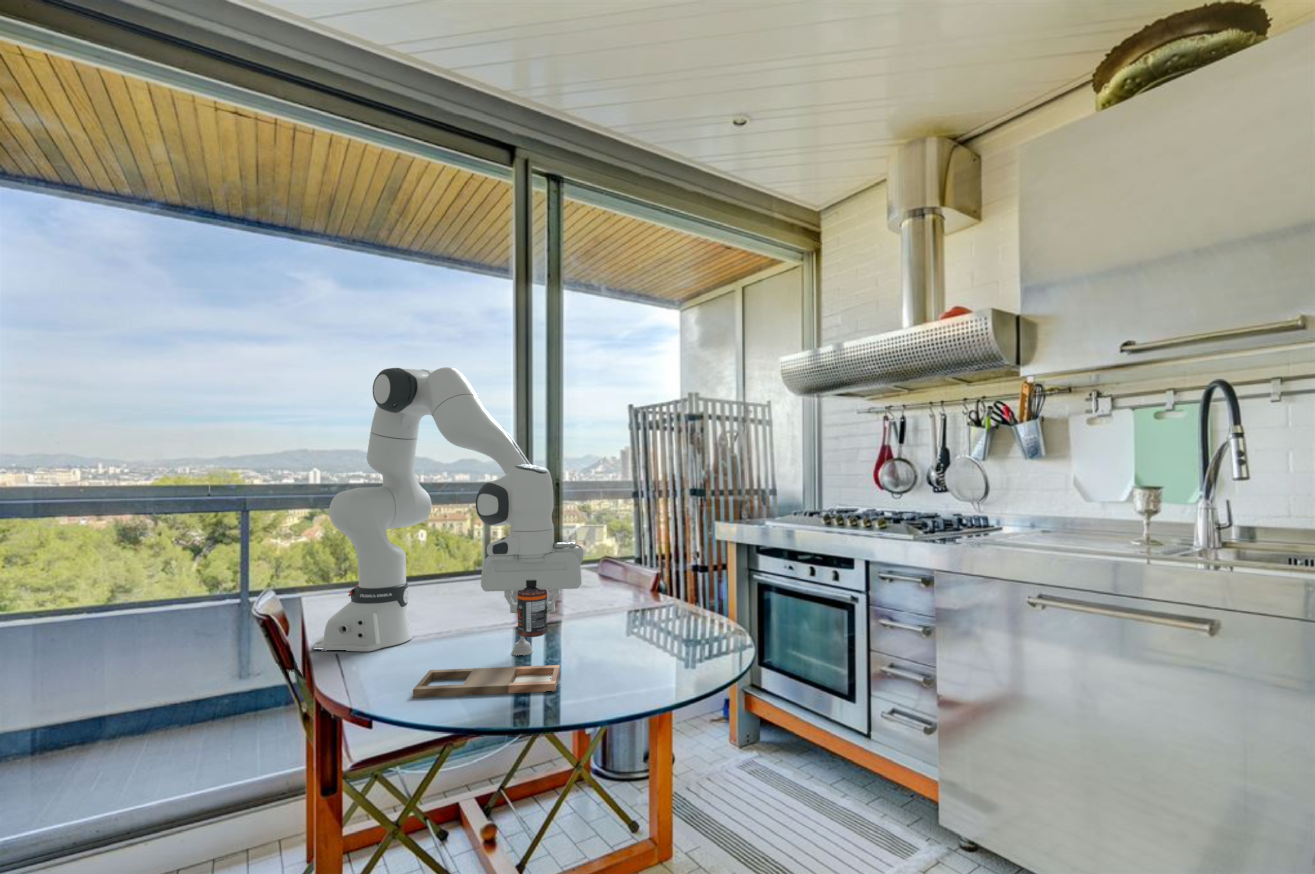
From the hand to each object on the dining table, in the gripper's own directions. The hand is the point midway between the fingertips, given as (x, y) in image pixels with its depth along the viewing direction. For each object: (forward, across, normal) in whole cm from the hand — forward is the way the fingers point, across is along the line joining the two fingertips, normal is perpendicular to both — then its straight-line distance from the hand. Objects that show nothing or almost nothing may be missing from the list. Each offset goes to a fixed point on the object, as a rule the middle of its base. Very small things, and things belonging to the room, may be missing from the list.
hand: (532, 611), depth 125 cm
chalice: (+14, +5, -21) cm, 26 cm away
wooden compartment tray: (+14, +9, 0) cm, 17 cm away
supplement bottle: (+5, 0, 0) cm, 5 cm away
